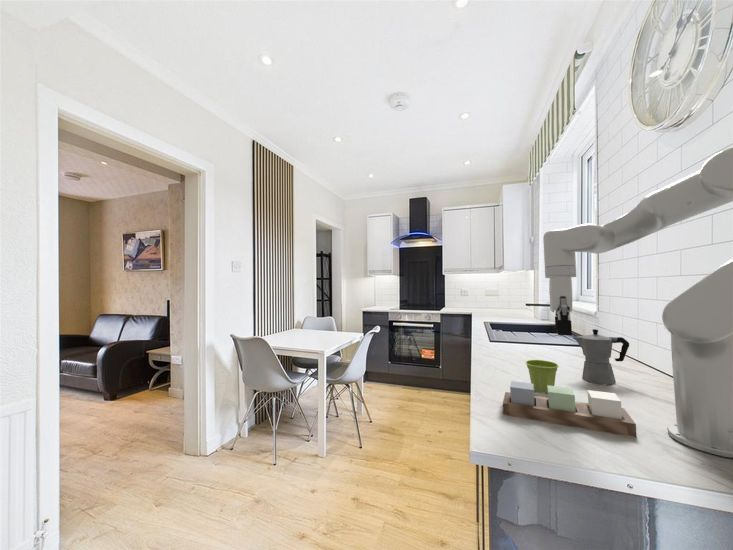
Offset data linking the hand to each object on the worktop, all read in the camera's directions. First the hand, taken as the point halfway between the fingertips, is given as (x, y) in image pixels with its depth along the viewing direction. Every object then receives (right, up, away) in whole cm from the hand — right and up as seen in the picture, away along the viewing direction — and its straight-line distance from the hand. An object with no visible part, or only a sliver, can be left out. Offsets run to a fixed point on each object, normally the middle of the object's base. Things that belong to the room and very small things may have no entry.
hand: (563, 332), depth 83 cm
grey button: (-14, -19, -4) cm, 24 cm away
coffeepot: (+26, -21, +18) cm, 38 cm away
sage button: (-6, -18, -8) cm, 21 cm away
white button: (+2, -18, -12) cm, 22 cm away
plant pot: (+1, -21, +11) cm, 24 cm away
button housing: (-6, -20, -8) cm, 23 cm away
